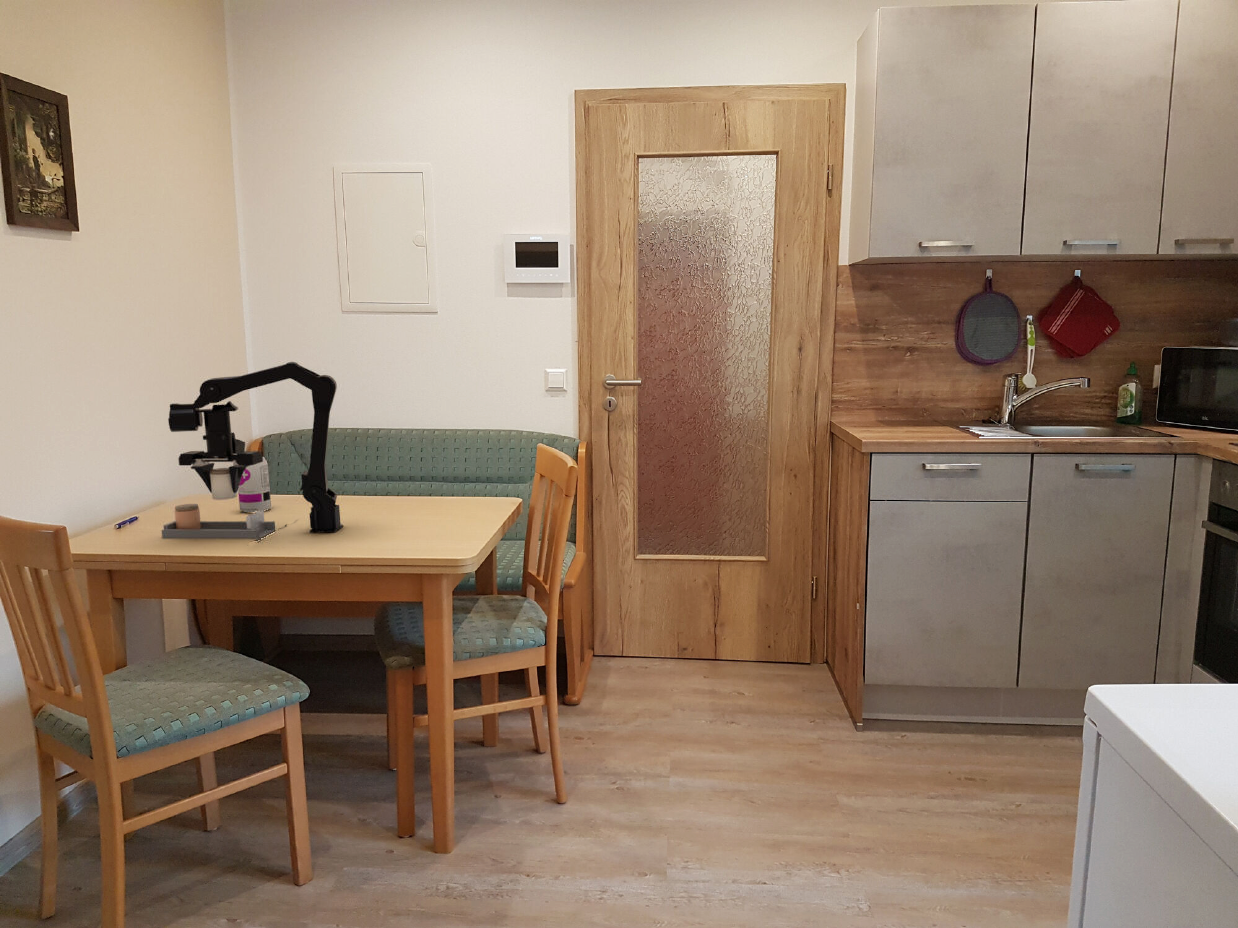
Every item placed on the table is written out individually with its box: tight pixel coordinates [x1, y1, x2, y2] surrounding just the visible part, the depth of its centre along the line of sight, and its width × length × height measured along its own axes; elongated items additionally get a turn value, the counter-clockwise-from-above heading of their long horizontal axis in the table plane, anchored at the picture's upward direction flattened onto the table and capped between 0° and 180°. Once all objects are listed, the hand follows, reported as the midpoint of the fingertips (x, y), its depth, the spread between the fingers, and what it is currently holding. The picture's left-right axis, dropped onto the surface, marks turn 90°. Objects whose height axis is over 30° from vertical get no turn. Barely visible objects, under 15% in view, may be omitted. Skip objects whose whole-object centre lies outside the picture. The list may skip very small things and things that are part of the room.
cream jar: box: [210, 467, 238, 501], centre depth 209 cm, size 6×6×7 cm
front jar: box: [174, 503, 202, 529], centre depth 211 cm, size 6×6×7 cm
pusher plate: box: [245, 510, 265, 532], centre depth 210 cm, size 1×7×5 cm, turn 176°
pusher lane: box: [161, 520, 276, 541], centre depth 211 cm, size 24×10×4 cm, turn 86°
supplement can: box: [237, 456, 272, 513], centre depth 240 cm, size 8×8×15 cm
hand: (224, 492), depth 210 cm, fingers closed on cream jar, 5 cm apart
